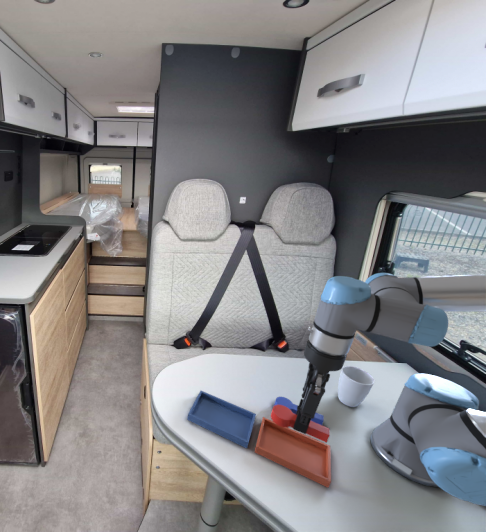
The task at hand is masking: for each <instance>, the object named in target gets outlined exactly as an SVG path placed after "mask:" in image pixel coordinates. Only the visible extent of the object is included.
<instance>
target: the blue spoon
mask: <svg viewBox="0 0 486 532" xmlns="http://www.w3.org/2000/svg"><path fill="white" fill-rule="evenodd" d="M275 405H283V406H285V407H287V408H289V409H290V410H291V411H292V413H294V414H296V412H297V406H299V404H295V403H293V401H291V399H289V398H287V397H285V396H277V397H276V398H275V400H274V404H273V407H274V406H275ZM324 419H325V417H324V415H323V414H320V413H319V412H316V413H315V416H314V418H313V419H312V418H311V421H313V422H315V423H317V424H320V425H322V426H323V424H324V421H325V420H324Z"/></svg>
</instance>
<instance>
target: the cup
mask: <svg viewBox="0 0 486 532" xmlns="http://www.w3.org/2000/svg"><path fill="white" fill-rule="evenodd" d="M375 381H376V380H375V378H374V376H373V375H372V374H370V373H369V372H368V371H366V370H364V369H362V368H360V367H357V366H353V365H343V367H342V369H341V370H340V375H339V378H338V384H337V396H338V399H339V400H338V401H340V402H341V403H342V404H343V405H345V406H347V407H349V408H356V407H358V406H359V405H361V403H362V402H363V401H364V400H365V399H366V398H367V397H368V395H369V393H370V392H371V389H372V388H373V386H374V384H375V383H376V382H375Z"/></svg>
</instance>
